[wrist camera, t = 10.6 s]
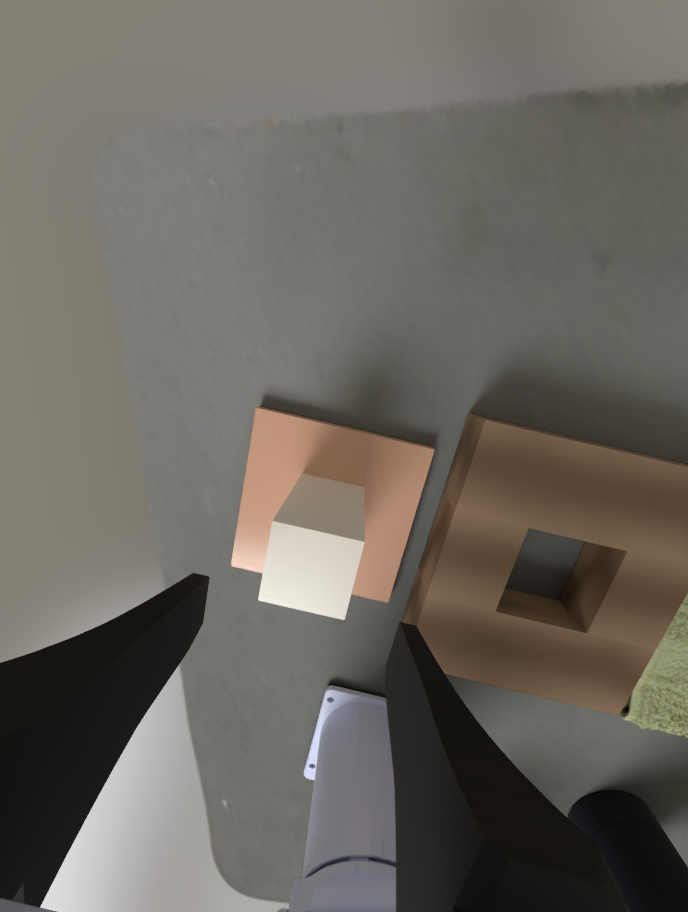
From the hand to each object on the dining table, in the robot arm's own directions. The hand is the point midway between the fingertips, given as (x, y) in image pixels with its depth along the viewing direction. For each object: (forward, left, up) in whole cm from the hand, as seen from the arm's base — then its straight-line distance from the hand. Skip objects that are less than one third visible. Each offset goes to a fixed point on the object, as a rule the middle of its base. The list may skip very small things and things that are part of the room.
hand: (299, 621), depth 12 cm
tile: (0, 0, -10) cm, 10 cm away
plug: (0, 0, -10) cm, 10 cm away
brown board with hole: (0, -14, -10) cm, 17 cm away
